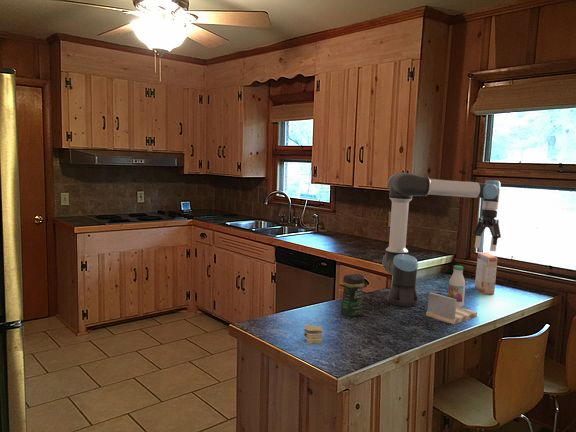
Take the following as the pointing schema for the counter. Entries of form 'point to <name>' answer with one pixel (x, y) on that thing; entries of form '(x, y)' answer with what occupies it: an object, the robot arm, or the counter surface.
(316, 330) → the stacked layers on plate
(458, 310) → the shelf board
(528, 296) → the counter surface
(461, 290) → the milk bottle
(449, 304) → the bookend
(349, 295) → the coffee jar
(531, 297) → the counter surface
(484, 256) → the cracker box
